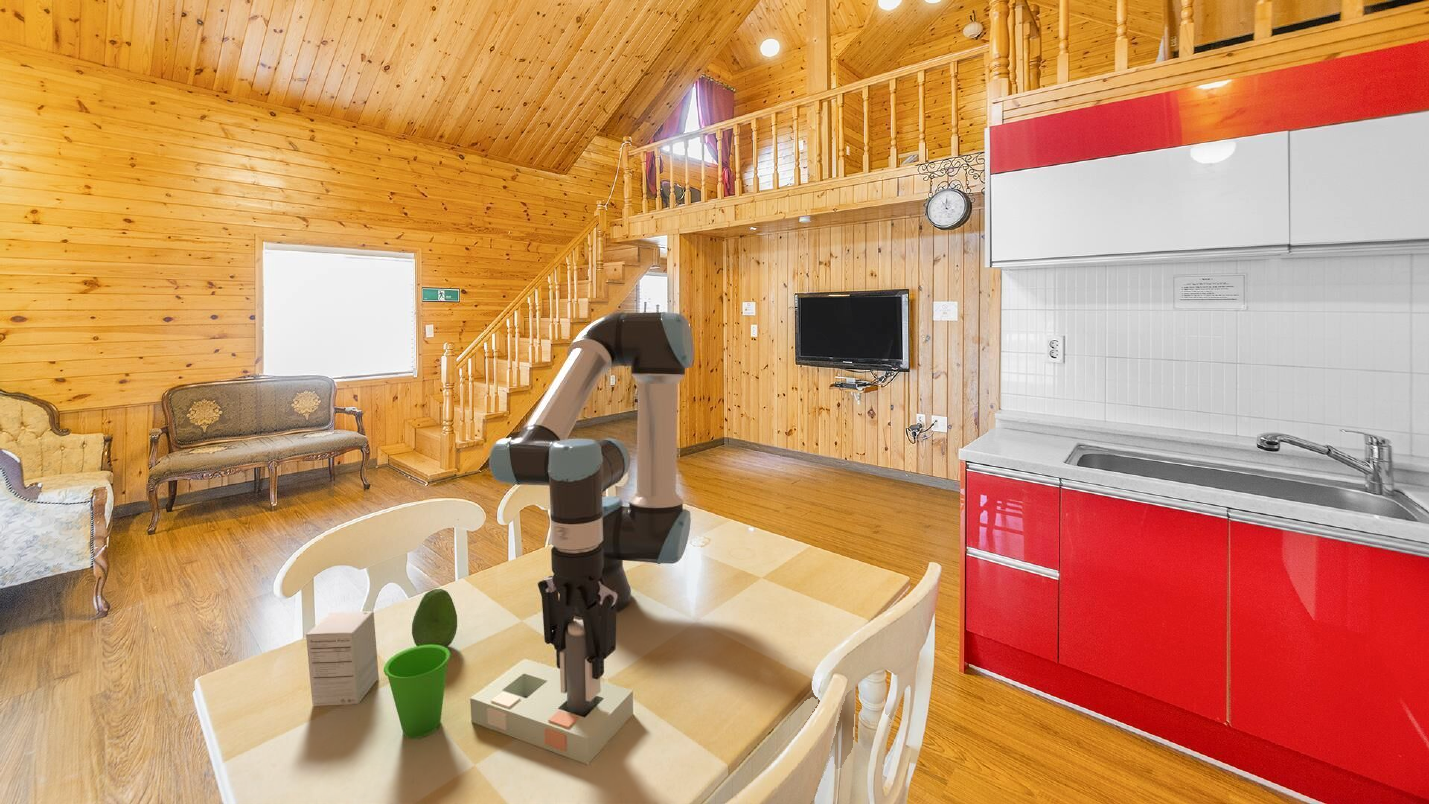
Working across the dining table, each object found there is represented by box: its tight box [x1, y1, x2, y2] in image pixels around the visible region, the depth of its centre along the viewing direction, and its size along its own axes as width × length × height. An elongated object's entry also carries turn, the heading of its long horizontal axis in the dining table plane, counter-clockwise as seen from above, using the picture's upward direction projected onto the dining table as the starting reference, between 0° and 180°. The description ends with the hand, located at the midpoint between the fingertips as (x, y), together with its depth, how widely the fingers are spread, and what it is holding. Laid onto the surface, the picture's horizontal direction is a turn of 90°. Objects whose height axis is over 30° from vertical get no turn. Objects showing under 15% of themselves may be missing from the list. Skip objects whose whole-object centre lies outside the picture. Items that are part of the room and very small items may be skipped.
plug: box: [565, 619, 594, 717], centre depth 88 cm, size 4×4×15 cm
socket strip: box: [469, 658, 634, 765], centre depth 91 cm, size 22×12×4 cm, turn 66°
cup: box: [383, 645, 451, 739], centre depth 89 cm, size 9×9×11 cm
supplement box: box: [305, 610, 380, 707], centre depth 97 cm, size 7×7×13 cm
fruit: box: [411, 588, 458, 649], centre depth 110 cm, size 8×8×12 cm
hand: (580, 691), depth 89 cm, fingers closed on plug, 4 cm apart
